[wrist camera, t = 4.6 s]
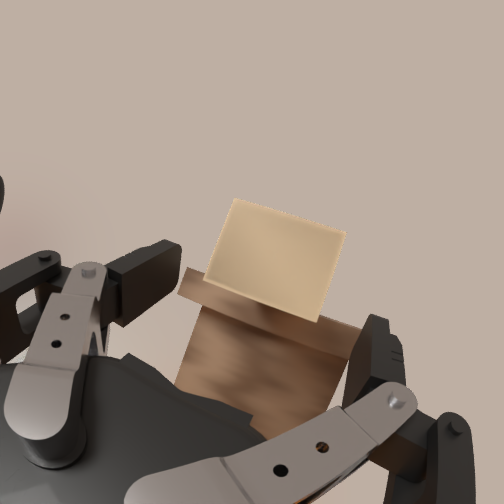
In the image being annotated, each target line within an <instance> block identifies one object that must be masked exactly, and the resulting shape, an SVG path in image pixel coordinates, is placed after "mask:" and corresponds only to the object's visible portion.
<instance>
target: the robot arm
mask: <svg viewBox="0 0 504 504" xmlns="http://www.w3.org/2000/svg"><path fill="white" fill-rule="evenodd" d="M3 200H4V183H3V179H2V177H1V176H0V212H1V209H2V205H3ZM181 253H182V248H181V246H180V245H179V244H176V243H173V242H171V241H168V240H165V239H164V240H161V241H159V242H158V243H155V244H153V245H151V246H147V247H142V248H139V249H137V250H135V251H133V252H132V253H129V254H126V255H125V256H122V257H120V258H118V259H116V260H114V261H112V262H110V263H108V264H106V265H102V264H100V263H97V262H83V263H79V264H77V265H75V266H74V267H73V268H68V267H64V266H61V257H60V255H59V253H57V252H55V251H50V250H45V251H39V252H37V253H34V254H32V255H30V256H28V257H26V258H24V259H21V260H20V261H17V262H15V263H13V264H11V265H9V266H7V267H5V268H3V269H1V270H0V504H310V503H312V502H314V501H315V500H317V499H318V498H320V497H321V496H322V495H324V494H325V493H326V492H328V491H329V490H331V489H332V488H333V487H335V486H336V485H338V484H339V483H340V482H342V481H343V480H345V479H346V478H347V477H348V476H350V475H351V474H352V473H354V472H355V471H356V470H358V469H359V468H360V467H361V466H363V465H364V464H365V463H366V462H368V461H369V460H370V461H372V462H374V463H376V464H377V465H379V466H381V467H383V468H385V469H387V470H389V475H388V482H387V487H386V493H385V498H384V502H383V504H476V489H475V467H474V454H473V444H472V436H471V429H470V427H469V425H468V423H467V422H466V420H465V419H464V418H462V417H461V416H460V415H458V414H456V413H452V412H446V413H443V414H442V415H440V417H439V418H438V419H437V420H435V419H433V418H432V417H430V416H428V415H426V414H424V413H422V412H421V411H419V410H418V409H417V405H418V403H417V399H416V397H415V395H414V394H413V393H412V391H411V390H410V389H409V388H407V387H406V379H405V368H404V358H403V349H402V344H401V343H400V341H399V339H398V338H397V336H395V335H393V334H390V329H389V320H388V319H385V318H382V317H379V316H376V315H373V314H370V315H369V317H368V318H367V321H366V323H365V325H364V327H363V329H362V331H361V333H360V335H359V337H358V339H357V341H356V343H355V345H354V347H353V349H352V352H351V355H350V358H349V365H348V372H347V378H346V384H345V390H344V396H343V402H342V407H341V406H335V407H333V408H331V409H329V410H328V411H326V412H324V413H322V414H320V415H319V416H317V417H315V418H313V419H311V420H309V421H307V422H305V423H303V424H301V425H299V426H297V427H295V428H293V429H291V430H289V431H287V432H285V433H283V434H281V435H279V436H277V437H274V438H272V439H270V440H267V439H266V438H265V437H264V436H263V435H262V434H261V433H260V432H258V431H257V430H256V429H255V428H253V427H252V426H250V423H251V421H252V418H253V416H254V415H252V414H249V413H247V412H244V411H242V410H239V409H237V408H235V407H232V406H230V405H228V404H226V403H223V402H221V401H218V400H214V399H210V398H206V397H202V396H198V395H195V394H191V393H187V392H184V391H181V390H180V389H178V388H177V387H176V386H175V385H173V384H172V383H171V382H170V381H169V380H168V379H167V378H165V377H164V376H163V375H162V374H161V373H160V372H159V371H157V370H156V369H155V368H154V367H152V366H150V365H148V364H147V363H145V362H143V361H142V360H140V359H138V358H136V357H135V356H133V355H131V354H130V353H128V354H126V355H125V356H124V357H123V358H122V359H121V360H120V359H117V358H113V357H108V356H107V350H108V342H109V334H110V323H111V322H115V323H116V324H118V325H120V326H121V327H123V328H124V327H125V326H126V325H128V324H129V323H130V322H132V321H133V320H134V319H136V318H137V317H138V316H140V315H141V314H142V313H144V312H145V311H146V310H148V309H149V308H150V307H152V306H153V305H154V304H156V303H157V302H158V301H160V300H161V299H162V298H164V297H165V296H166V295H168V294H169V293H170V292H172V291H173V290H174V288H175V287H176V285H177V283H178V279H179V271H180V261H181ZM33 288H34V290H35V296H36V300H37V303H35V304H34V305H32V306H31V307H29V308H28V309H26V310H24V311H23V312H21V313H19V314H17V310H16V301H17V299H18V298H19V297H20V296H21V295H23V294H24V293H26V292H28V291H30V290H31V289H33ZM27 347H29V349H28V352H27V355H26V358H25V360H24V361H23V362H20V363H11V364H6V363H7V362H9V361H10V360H11V359H13V358H14V357H15V356H16V355H18V354H19V353H21V352H22V351H23V350H25V349H26V348H27Z"/></svg>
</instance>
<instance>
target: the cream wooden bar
mask: <svg viewBox="0 0 504 504" xmlns="http://www.w3.org/2000/svg"><path fill="white" fill-rule="evenodd" d="M346 233H347V232H344V231H341V230H338V229H335V228H332V227H329V226H326V225H322V224H320V223H316V222H313V221H310V220H307V219H304V218H301V217H297V216H294V215H291V214H288V213H285V212H281V211H278V210H275V209H272V208H268V207H265V206H261V205H258V204H255V203H251V202H248V201H244V200H241V199H238V198H234V201H233V203H232V206H231V208H230V211H229V214H228V216H227V218H226V221H225V223H224V226H223V228H222V231H221V234H220V236H219V239H218V241H217V244H216V246H215V249H214V252H213V254H212V257H211V260H210V262H209V264H208V267H207V270H206V272H205V275H204V278H203V280H204V281H206V282H209V283H211V284H214V285H216V286H219V287H221V288H224V289H226V290H229V291H232V292H234V293H237V294H239V295H242V296H245V297H247V298H250V299H253V300H255V301H258V302H261V303H263V304H266V305H269V306H271V307H274V308H277V309H279V310H282V311H285V312H288V313H290V314H293V315H296V316H299V317H302V318H304V319H307V320H310V321H313V322H317V320H318V317H319V314H320V311H321V308H322V306H323V303H324V300H325V297H326V295H327V292H328V289H329V286H330V283H331V280H332V277H333V274H334V271H335V268H336V265H337V262H338V258H339V256H340V253H341V250H342V246H343V243H344V240H345V237H346Z"/></svg>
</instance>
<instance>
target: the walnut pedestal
mask: <svg viewBox="0 0 504 504" xmlns="http://www.w3.org/2000/svg"><path fill="white" fill-rule="evenodd" d="M204 275H205V273H202V272H199V271H197V270H194V269H191V268H188V267H187V269H186V272H185V274H184V277H183V280H182V282H181V285H180V288H179V290H178V293H177V294H178V295H181V296H183V297H185V298H188V299H190V300H192V301H194V302H197V303H199V304H201V305H202V308H201V310H200V313H199V316H198V319H197V321H196V324H195V327H194V330H193V332H192V336H191V338H190V341H189V344H188V347H187V349H186V352H185V355H184V358H183V360H182V363H181V366H180V369H179V372H178V375H177V378H176V380H175V383H174V385H175V386H176V387H177V388H178V389H180V390H181V391H184V392H187V393H191V394H195V395H198V396H202V397H206V398H210V399H214V400H218V401H221V402H223V403H226V404H228V405H230V406H232V407H235V408H237V409H239V410H242V411H244V412H247V413H249V414H252V415H254V416H253V418H252V421H251V423H250V426H252V427H253V428H255V429H256V430H257V431H258V432H260V433H261V434H262V435H263V436H264V437H265V438H266V439H267V440H270V439H272V438H274V437H277V436H279V435H281V434H283V433H285V432H287V431H289V430H291V429H293V428H295V427H297V426H299V425H301V424H303V423H305V422H307V421H309V420H311V419H313V418H315V417H317V416H319V415H320V414H322V413H324V412H326V410H327V408H328V406H329V404H330V401H331V399H332V397H333V395H334V393H335V390H336V388H337V386H338V383H339V381H340V379H341V377H342V374H343V372H344V369H345V367H346V365H347V362H348V360H349V358H350V355H351V352H352V349H353V347H354V345H355V343H356V341H357V339H358V337H359V335H360V333H361V331H362V329H359V328H357V327H354V326H351V325H348V324H345V323H342V322H339V321H336V320H333V319H330V318H327V317H325V316H321V315H319V317H318V320H317V322H313V321H310V320H307V319H304V318H302V317H299V316H296V315H293V314H290V313H288V312H285V311H282V310H279V309H277V308H274V307H271V306H269V305H266V304H263V303H261V302H258V301H255V300H253V299H250V298H247V297H245V296H242V295H239V294H237V293H234V292H232V291H229V290H226V289H224V288H221V287H219V286H216V285H214V284H211V283H209V282H206V281H204V280H203V278H204Z"/></svg>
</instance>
